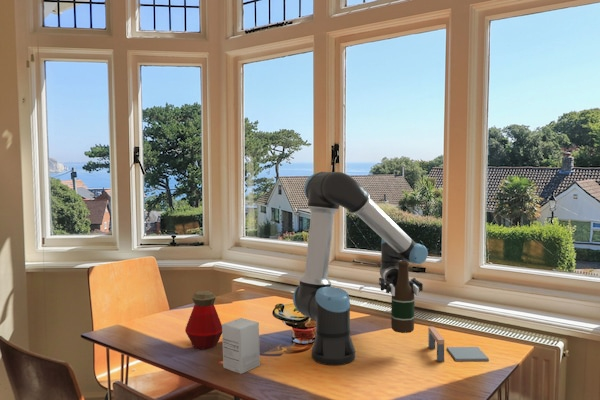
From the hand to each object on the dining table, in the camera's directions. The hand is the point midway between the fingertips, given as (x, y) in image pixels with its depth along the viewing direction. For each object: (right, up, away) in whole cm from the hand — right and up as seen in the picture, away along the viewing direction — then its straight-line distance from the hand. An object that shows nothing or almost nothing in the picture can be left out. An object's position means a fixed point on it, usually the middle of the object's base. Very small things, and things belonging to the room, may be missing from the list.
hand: (405, 292), depth 165 cm
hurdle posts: (+12, -23, +7) cm, 27 cm away
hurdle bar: (+12, -17, +6) cm, 22 cm away
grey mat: (+23, -23, +5) cm, 33 cm away
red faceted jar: (-72, -24, +20) cm, 78 cm away
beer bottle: (0, -14, +6) cm, 15 cm away
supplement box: (-55, -25, -2) cm, 61 cm away
